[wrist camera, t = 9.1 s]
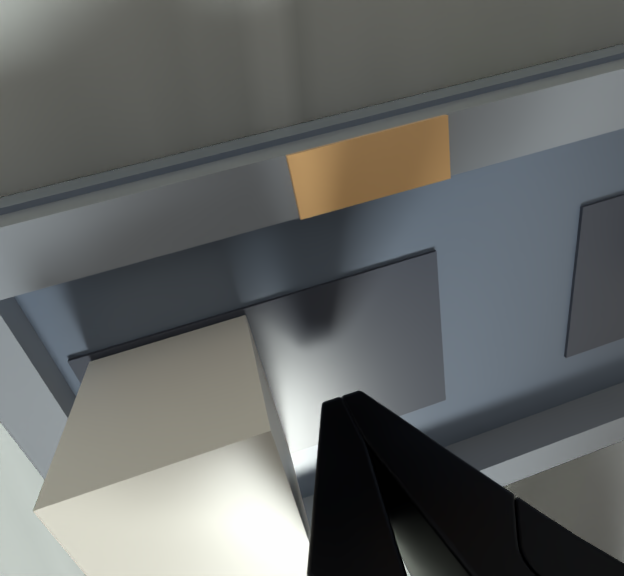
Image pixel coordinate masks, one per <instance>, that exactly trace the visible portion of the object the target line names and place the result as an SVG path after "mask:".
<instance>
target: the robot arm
mask: <svg viewBox="0 0 624 576" xmlns="http://www.w3.org/2000/svg"><path fill="white" fill-rule="evenodd" d="M402 559H403V561H404V563H405V565H406V567H407V569H408V571H409V573H410V575H411V576H624V563H622V562H620V561H619V560H617V559H615V558H614V557H612V556H610V555H609V554H607V553H605V552H603V551H602V550H600V549H598V548H597V547H595V546H593V545H591V544H590V543H588V542H586V541H585V540H583V539H581V538H580V537H578V536H576V535H575V534H573V533H572V532H570V531H569V530H567V529H565V528H564V527H562V526H561V525H559V524H558V523H556V522H555V521H553V520H552V519H550V518H548V517H547V516H545V515H544V514H542V513H541V512H539V511H538V510H536V509H535V508H533V507H532V506H530V505H529V504H528V503H526V502H525V501H523V500H522V499H520V498H516V499H515V496H514V494H513V493H511V492H510V491H508V490H507V489H505V488H504V487H502V486H501V485H499V484H498V483H496V482H495V481H494V480H492V479H491V478H489V477H488V476H486V475H485V474H483V473H482V472H480V471H479V470H477V469H476V468H474V467H473V466H471V465H470V464H469V463H467V462H466V461H464V460H463V459H461V458H460V457H458V456H457V455H455V454H454V453H452V452H451V451H449V450H448V449H446V448H445V447H444V446H442V445H441V444H439V443H438V442H436V441H435V440H433V439H432V438H430V437H429V436H427V435H426V434H424V433H423V432H422V431H420V430H419V429H417V428H416V427H414V426H413V425H411V424H410V423H408V422H407V421H405V420H404V419H402V418H401V417H399V416H398V415H397V414H395V413H394V412H392V411H391V410H389V409H388V408H386V407H385V406H383V405H382V404H380V403H379V402H377V401H376V400H374V399H373V398H372V397H370V396H369V395H367V394H366V393H364V392H363V391H355V392H352V393H349V394H346V395H343V396H342V397H337V398H334V399H331V400H328V401H325V402H323V403H322V406H321V416H320V428H319V439H318V450H317V462H316V473H315V485H314V496H313V508H312V519H311V530H310V542H309V553H308V565H307V576H407V574H406V570H405V567H404V564H403V561H402Z"/></svg>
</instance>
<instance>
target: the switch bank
mask: <svg viewBox="0 0 624 576" xmlns="http://www.w3.org/2000/svg"><path fill="white" fill-rule="evenodd" d="M243 315H246V318H247V321H248V324H249V327H250V330H251V333H252V336H253V339H254V342H255V346H256V349H257V352H258V355H259V358H260V361H261V364H262V367H263V370H264V373H265V376H266V379H267V383H268V386H269V389H270V392H271V395H272V398H273V401H274V404H275V407H276V410H277V413H278V416H279V420H280V423H281V426H282V429H283V432H284V435H285V438H286V441H287V444H288V447H289V450H290V454H291V457H292V461H293V465H294V469H295V473H296V477H297V481H298V485H299V489H300V492H301V496H302V500H303V504H304V508H305V512H306V516H307V520H308V524H309V527H310V530H311V519H312V508H313V496H314V485H315V473H316V462H317V450H318V439H319V428H320V416H321V406H322V403H323V402H325V401H328V400H331V399H334V398H337V397H342V396H343V395H346V394H349V393H352V392H355V391H363V392H364V393H366V394H367V395H369V396H370V397H372V398H373V399H374V400H376V401H377V402H379V403H380V404H382V405H383V406H385V407H386V408H388V409H389V410H391V411H392V412H394V413H395V414H397V415H398V416H399V417H401V418H402V419H404V420H405V421H407V422H408V423H410V424H411V425H413V426H414V427H416V428H417V429H419V430H420V431H422V432H423V433H424V434H426V435H427V436H429V437H430V438H432V439H433V440H435V441H436V442H438V443H439V444H441V445H442V446H444V447H445V448H446V449H448V450H449V451H451V452H452V453H454V454H455V455H457V456H458V457H460V458H461V459H463V460H464V461H466V462H467V463H469V464H470V465H471V466H473V467H474V468H476V469H477V470H479V471H480V472H482V473H483V474H485V475H486V476H488V477H489V478H491V479H492V480H494V481H495V482H496V483H498V484H499V485H501V486H502V487H503V486H506V485H508V484H511V483H514V482H516V481H519V480H521V479H524V478H527V477H529V476H532V475H534V474H537V473H540V472H542V471H545V470H548V469H550V468H553V467H555V466H558V465H561V464H563V463H566V462H568V461H571V460H574V459H576V458H579V457H581V456H584V455H587V454H589V453H592V452H595V451H597V450H600V449H602V448H605V447H608V446H610V445H613V444H615V443H618V442H621V441H623V440H624V44H621V45H617V46H613V47H609V48H605V49H601V50H597V51H593V52H589V53H584V54H580V55H576V56H572V57H568V58H564V59H560V60H556V61H552V62H548V63H544V64H540V65H536V66H532V67H528V68H524V69H520V70H516V71H512V72H508V73H503V74H499V75H495V76H491V77H487V78H483V79H479V80H475V81H471V82H467V83H463V84H459V85H455V86H451V87H447V88H443V89H439V90H435V91H431V92H426V93H422V94H418V95H414V96H410V97H406V98H402V99H398V100H394V101H390V102H386V103H382V104H378V105H374V106H370V107H366V108H362V109H358V110H354V111H349V112H345V113H341V114H337V115H333V116H329V117H325V118H321V119H317V120H313V121H309V122H305V123H301V124H297V125H293V126H289V127H285V128H281V129H277V130H273V131H268V132H264V133H260V134H256V135H252V136H248V137H244V138H240V139H236V140H232V141H228V142H224V143H220V144H216V145H212V146H208V147H204V148H200V149H196V150H191V151H187V152H183V153H179V154H175V155H171V156H167V157H163V158H159V159H155V160H151V161H147V162H143V163H139V164H135V165H131V166H127V167H123V168H119V169H114V170H110V171H106V172H102V173H98V174H94V175H90V176H86V177H82V178H78V179H74V180H70V181H66V182H62V183H58V184H54V185H50V186H46V187H42V188H38V189H33V190H29V191H25V192H21V193H17V194H13V195H9V196H5V197H1V198H0V422H1V423H2V425H3V426H4V427H5V429H6V430H7V431H8V433H9V434H10V435H11V436H12V438H13V439H14V440H15V442H16V443H17V444H18V446H19V447H20V448H21V450H22V451H23V452H24V454H25V455H26V456H27V457H28V459H29V460H30V461H31V463H32V464H33V465H34V467H35V468H36V469H37V471H38V472H39V473H40V475H41V476H42V477H43V478H44V480H45V478H46V475H47V472H48V470H49V467H50V465H51V462H52V459H53V457H54V454H55V451H56V449H57V446H58V443H59V441H60V438H61V435H62V433H63V430H64V428H65V425H66V422H67V420H68V417H69V414H70V412H71V409H72V406H73V404H74V401H75V399H76V396H77V393H78V391H79V388H80V385H81V383H82V380H83V377H84V375H85V372H86V370H87V367H88V364H89V362H90V361H94V360H97V359H100V358H104V357H107V356H110V355H114V354H117V353H120V352H124V351H127V350H130V349H134V348H137V347H140V346H144V345H147V344H150V343H154V342H157V341H160V340H164V339H167V338H170V337H174V336H177V335H180V334H184V333H187V332H190V331H193V330H197V329H200V328H203V327H207V326H210V325H213V324H217V323H220V322H223V321H227V320H230V319H233V318H237V317H240V316H243Z"/></svg>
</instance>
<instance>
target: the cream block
mask: <svg viewBox="0 0 624 576" xmlns="http://www.w3.org/2000/svg"><path fill="white" fill-rule="evenodd" d="M33 512H34V513H35V514H36V516H37V517H38V518H39V519H40V520H41V522H42V523H43V524H44V525H45V526H46V528H47V529H48V530H49V531H50V533H51V534H52V535H53V536H54V537H55V539H56V540H57V541H58V542H59V543H60V545H61V546H62V547H63V548H64V549H65V551H66V552H67V553H68V554H69V556H70V557H71V558H72V559H73V560H74V562H75V563H76V564H77V565H78V566H79V568H80V569H81V570H82V571H83V572H84V574H85V575H86V576H307V565H308V553H309V542H310V527H309V524H308V520H307V516H306V512H305V508H304V504H303V500H302V496H301V492H300V489H299V485H298V481H297V477H296V473H295V469H294V465H293V461H292V457H291V454H290V450H289V447H288V444H287V441H286V438H285V435H284V432H283V429H282V426H281V423H280V420H279V416H278V413H277V410H276V407H275V404H274V401H273V398H272V395H271V392H270V389H269V386H268V383H267V379H266V376H265V373H264V370H263V367H262V364H261V361H260V358H259V355H258V352H257V349H256V346H255V342H254V339H253V336H252V333H251V330H250V327H249V324H248V321H247V318H246V315H243V316H240V317H237V318H233V319H230V320H227V321H223V322H220V323H217V324H213V325H210V326H207V327H203V328H200V329H197V330H193V331H190V332H187V333H184V334H180V335H177V336H174V337H170V338H167V339H164V340H160V341H157V342H154V343H150V344H147V345H144V346H140V347H137V348H134V349H130V350H127V351H124V352H120V353H117V354H114V355H110V356H107V357H104V358H100V359H97V360H94V361H90V362H89V364H88V367H87V370H86V372H85V375H84V377H83V380H82V383H81V385H80V388H79V391H78V393H77V396H76V399H75V401H74V404H73V406H72V409H71V412H70V414H69V417H68V420H67V422H66V425H65V428H64V430H63V433H62V435H61V438H60V441H59V443H58V446H57V449H56V451H55V454H54V457H53V459H52V462H51V465H50V467H49V470H48V472H47V475H46V478H45V480H44V483H43V486H42V488H41V491H40V494H39V496H38V499H37V501H36V504H35V507H34V509H33Z"/></svg>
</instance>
